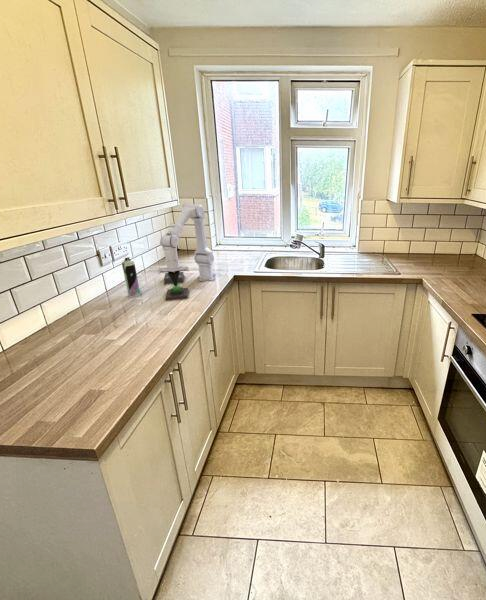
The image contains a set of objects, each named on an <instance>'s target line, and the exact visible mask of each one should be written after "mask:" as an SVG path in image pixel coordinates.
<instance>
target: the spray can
mask: <svg viewBox="0 0 486 600" xmlns="http://www.w3.org/2000/svg"><path fill="white" fill-rule="evenodd" d="M121 266H122V270H123V276H124V280H125V285H126V290H127V295H128V297H129V298H137V297H140V296H141V295H142V294H141V289H140V284H139V279H138V274H137V268H136V264H135V261H134V260H132V259H130V256H129V257H128V256H127V257H124V260H123V261H122V262H121Z"/></svg>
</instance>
